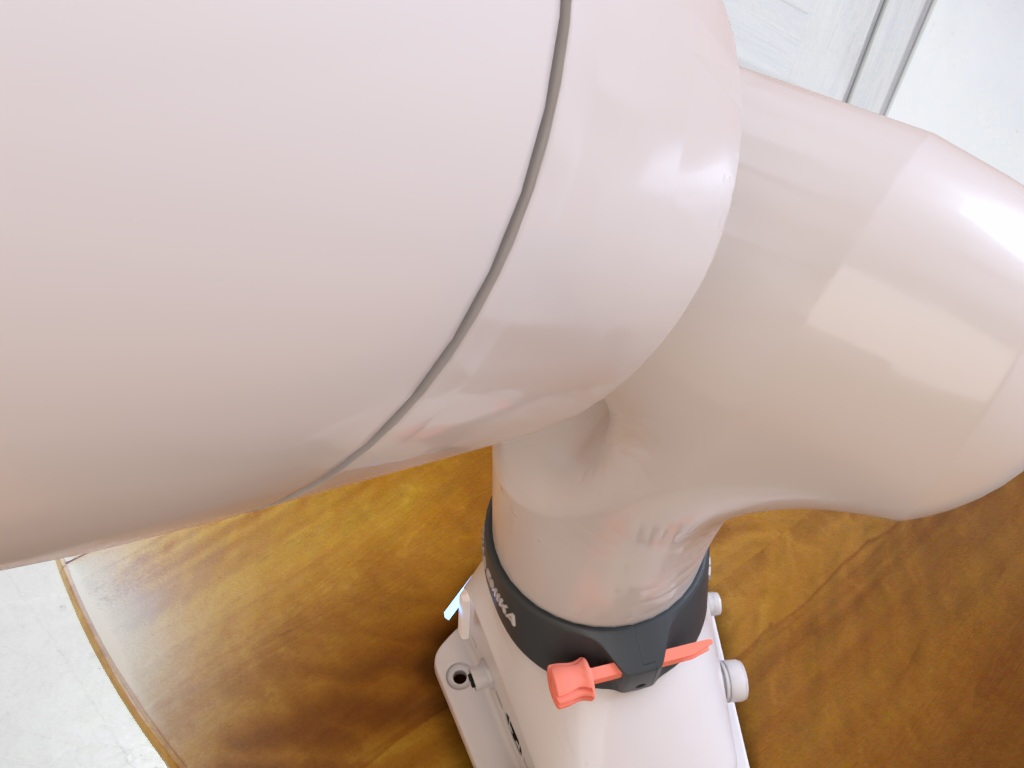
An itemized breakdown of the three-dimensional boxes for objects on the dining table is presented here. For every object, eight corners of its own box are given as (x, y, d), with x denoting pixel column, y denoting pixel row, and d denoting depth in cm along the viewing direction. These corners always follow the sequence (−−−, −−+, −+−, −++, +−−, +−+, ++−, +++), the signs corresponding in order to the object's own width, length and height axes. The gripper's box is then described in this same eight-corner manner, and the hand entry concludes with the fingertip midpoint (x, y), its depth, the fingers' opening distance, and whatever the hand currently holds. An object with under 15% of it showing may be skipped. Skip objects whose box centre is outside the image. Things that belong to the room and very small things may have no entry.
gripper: (59, 131, 57) (126, 273, 68) (16, 318, 44) (106, 459, 55) (149, 121, 59) (201, 263, 69) (132, 301, 46) (199, 442, 56)
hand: (159, 351), depth 62 cm, fingers closed, pressing on button
